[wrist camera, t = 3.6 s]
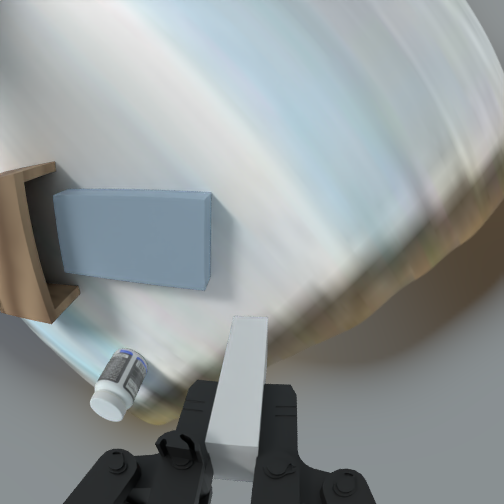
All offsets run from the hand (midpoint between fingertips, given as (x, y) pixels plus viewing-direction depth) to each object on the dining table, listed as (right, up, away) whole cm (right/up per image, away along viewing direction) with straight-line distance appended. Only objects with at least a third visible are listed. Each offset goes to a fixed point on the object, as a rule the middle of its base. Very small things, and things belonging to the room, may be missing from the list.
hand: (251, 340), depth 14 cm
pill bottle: (-15, -9, +21) cm, 27 cm away
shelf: (-24, +6, +15) cm, 29 cm away
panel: (-11, +6, +14) cm, 19 cm away
